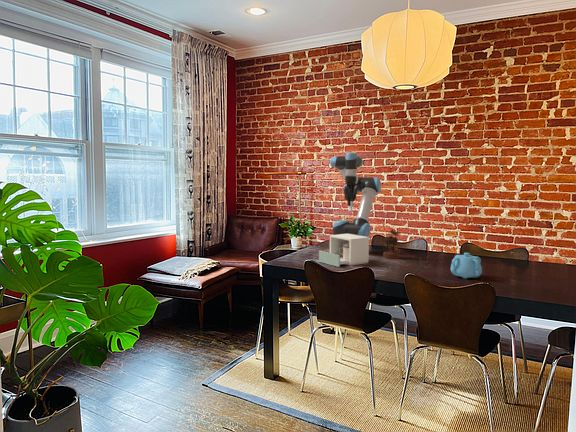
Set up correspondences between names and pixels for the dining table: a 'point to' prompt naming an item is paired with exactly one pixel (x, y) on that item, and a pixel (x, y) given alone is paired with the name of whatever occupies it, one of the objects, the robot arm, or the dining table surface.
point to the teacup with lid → (345, 251)
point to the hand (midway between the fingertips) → (350, 210)
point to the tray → (332, 258)
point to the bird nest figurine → (390, 241)
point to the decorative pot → (466, 266)
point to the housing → (351, 247)
